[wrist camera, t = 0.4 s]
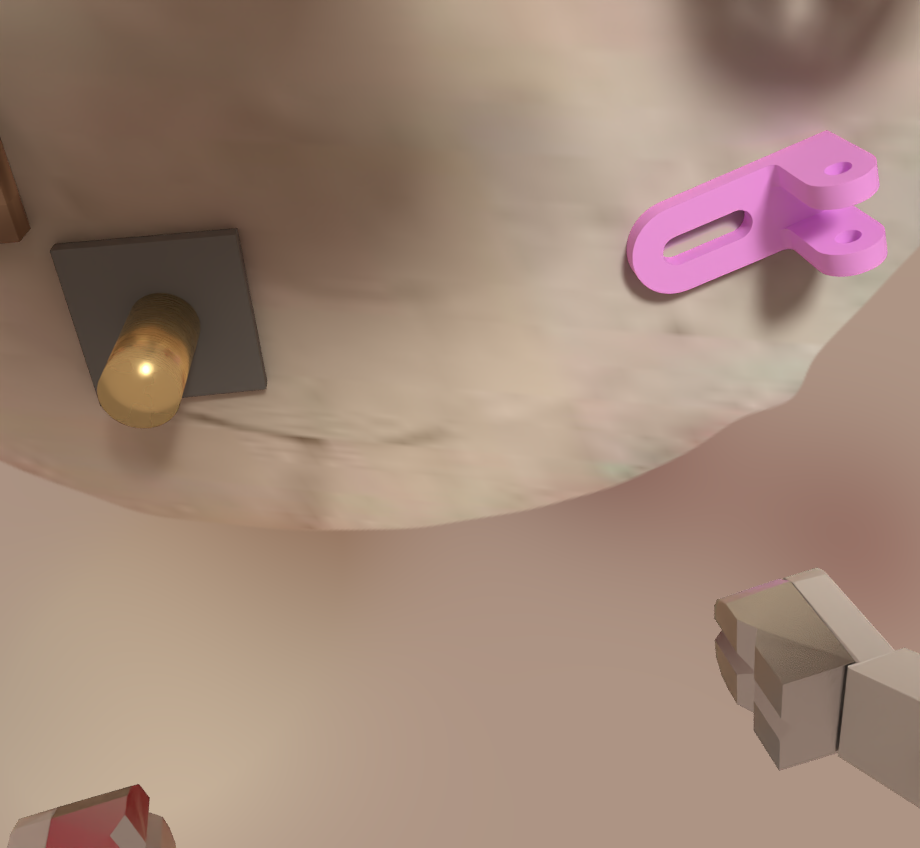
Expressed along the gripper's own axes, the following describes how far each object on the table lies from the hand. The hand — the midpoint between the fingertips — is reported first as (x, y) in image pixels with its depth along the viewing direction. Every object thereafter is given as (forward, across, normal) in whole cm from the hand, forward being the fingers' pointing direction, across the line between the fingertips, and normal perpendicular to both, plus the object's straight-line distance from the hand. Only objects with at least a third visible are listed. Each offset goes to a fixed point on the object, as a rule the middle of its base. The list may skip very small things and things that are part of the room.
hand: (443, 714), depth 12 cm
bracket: (+38, -24, +12) cm, 47 cm away
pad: (+41, +10, +10) cm, 44 cm away
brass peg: (+40, +10, +10) cm, 43 cm away
